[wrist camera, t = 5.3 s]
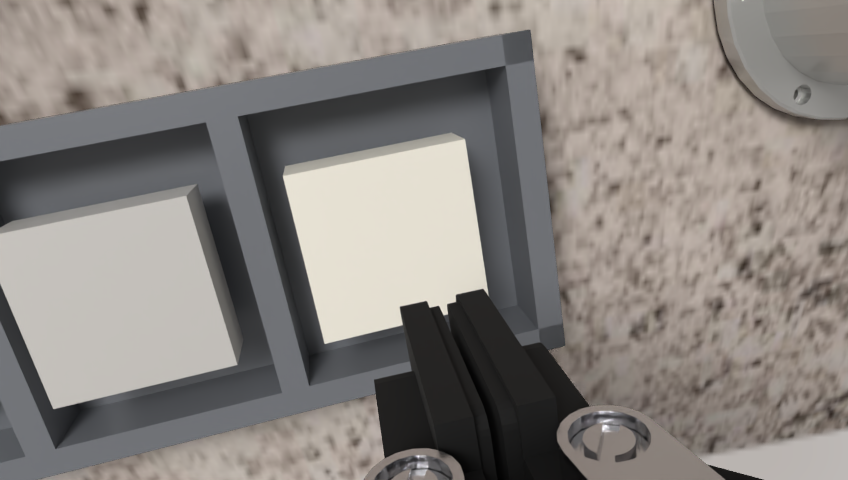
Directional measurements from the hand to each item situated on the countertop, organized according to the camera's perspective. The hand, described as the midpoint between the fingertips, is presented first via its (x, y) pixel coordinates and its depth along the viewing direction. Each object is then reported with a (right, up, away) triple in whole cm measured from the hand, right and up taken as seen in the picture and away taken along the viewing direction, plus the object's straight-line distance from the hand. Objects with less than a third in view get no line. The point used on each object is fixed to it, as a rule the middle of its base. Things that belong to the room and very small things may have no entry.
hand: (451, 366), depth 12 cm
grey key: (-11, +1, +9) cm, 14 cm away
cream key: (-2, +3, +10) cm, 11 cm away
